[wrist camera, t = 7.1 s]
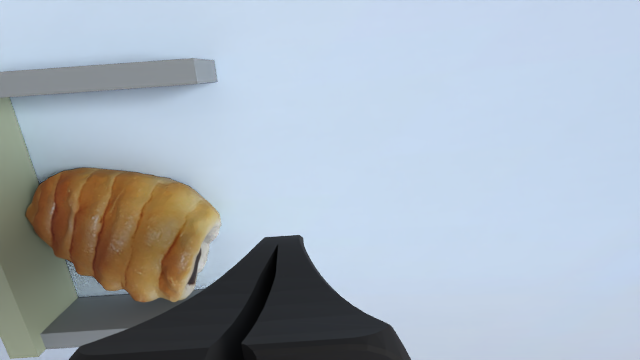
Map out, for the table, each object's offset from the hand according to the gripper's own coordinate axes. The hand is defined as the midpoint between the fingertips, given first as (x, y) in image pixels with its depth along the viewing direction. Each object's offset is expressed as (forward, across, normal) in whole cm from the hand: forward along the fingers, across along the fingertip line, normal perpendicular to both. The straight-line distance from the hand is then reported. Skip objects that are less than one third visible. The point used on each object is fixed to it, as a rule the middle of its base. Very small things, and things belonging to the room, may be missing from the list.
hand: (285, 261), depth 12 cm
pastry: (+8, +9, +2) cm, 12 cm away
